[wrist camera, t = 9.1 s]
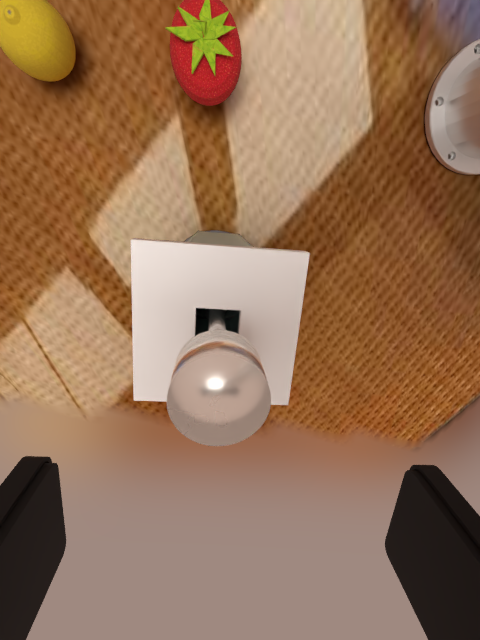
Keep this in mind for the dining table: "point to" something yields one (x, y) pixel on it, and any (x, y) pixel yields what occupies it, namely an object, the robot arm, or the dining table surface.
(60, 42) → the lemon
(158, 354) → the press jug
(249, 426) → the plunger
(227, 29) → the strawberry
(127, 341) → the dining table surface
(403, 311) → the dining table surface
